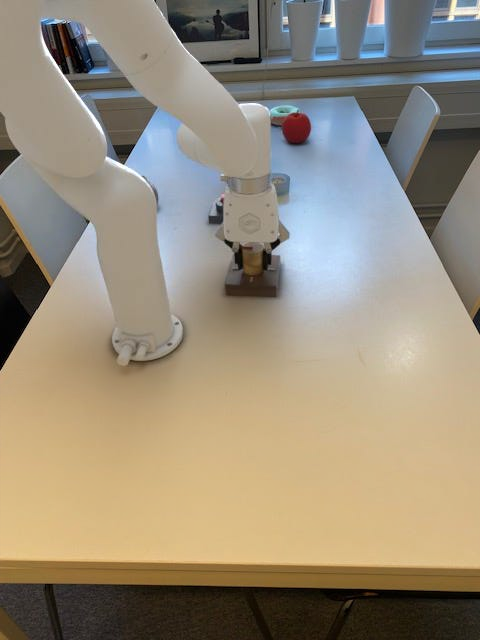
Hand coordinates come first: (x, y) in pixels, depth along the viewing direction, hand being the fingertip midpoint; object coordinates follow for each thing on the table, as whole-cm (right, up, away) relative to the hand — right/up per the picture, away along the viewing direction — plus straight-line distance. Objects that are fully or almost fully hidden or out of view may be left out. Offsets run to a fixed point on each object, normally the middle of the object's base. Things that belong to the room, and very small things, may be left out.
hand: (253, 265), depth 98 cm
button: (-5, +18, +21) cm, 28 cm away
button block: (-5, +15, +24) cm, 29 cm away
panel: (0, -3, +2) cm, 3 cm away
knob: (0, -1, 0) cm, 1 cm away
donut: (+13, +59, +75) cm, 96 cm away
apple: (+15, +47, +60) cm, 77 cm away
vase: (-27, +17, +28) cm, 43 cm away
